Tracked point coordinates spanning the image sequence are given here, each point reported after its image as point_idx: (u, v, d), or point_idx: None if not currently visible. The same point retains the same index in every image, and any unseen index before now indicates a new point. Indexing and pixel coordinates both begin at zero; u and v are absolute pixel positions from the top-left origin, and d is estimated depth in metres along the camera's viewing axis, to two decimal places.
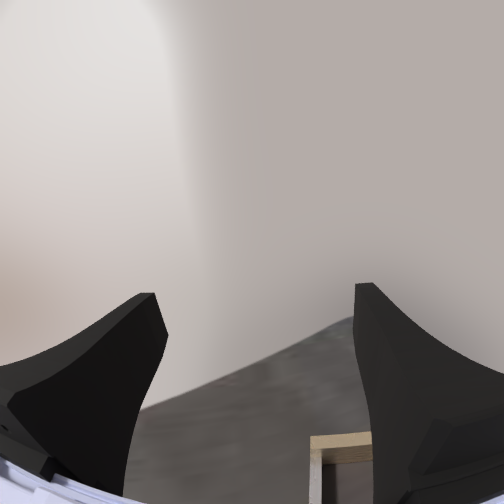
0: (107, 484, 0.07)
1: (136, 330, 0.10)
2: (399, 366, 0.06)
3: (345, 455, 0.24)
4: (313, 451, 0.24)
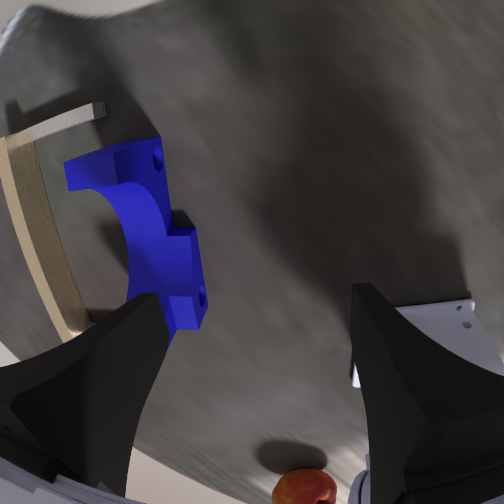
0: (109, 485, 0.07)
1: (138, 330, 0.10)
2: (395, 367, 0.06)
3: (74, 311, 0.23)
4: None
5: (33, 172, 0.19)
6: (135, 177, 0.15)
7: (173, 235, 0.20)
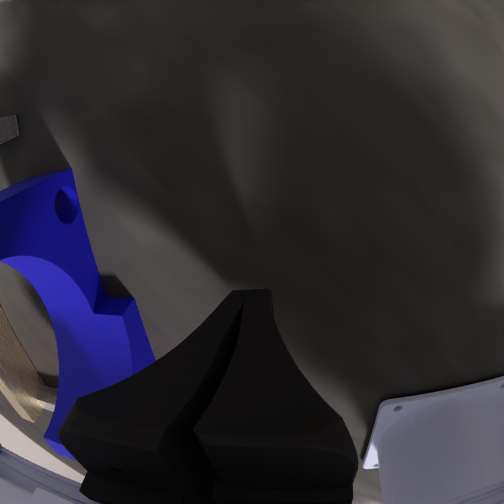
0: None
1: None
2: (225, 375, 0.06)
3: (21, 377, 0.16)
4: (35, 416, 0.17)
5: None
6: (16, 247, 0.08)
7: (101, 312, 0.13)
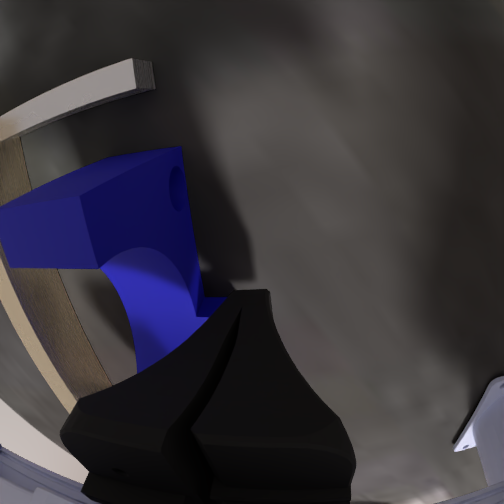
0: None
1: None
2: (223, 375, 0.06)
3: None
4: None
5: (18, 189, 0.11)
6: (138, 235, 0.08)
7: (206, 315, 0.12)
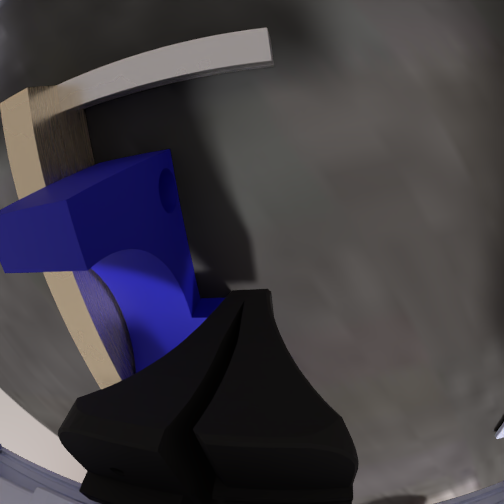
0: None
1: None
2: (225, 375, 0.06)
3: None
4: None
5: None
6: (127, 237, 0.08)
7: (202, 315, 0.12)
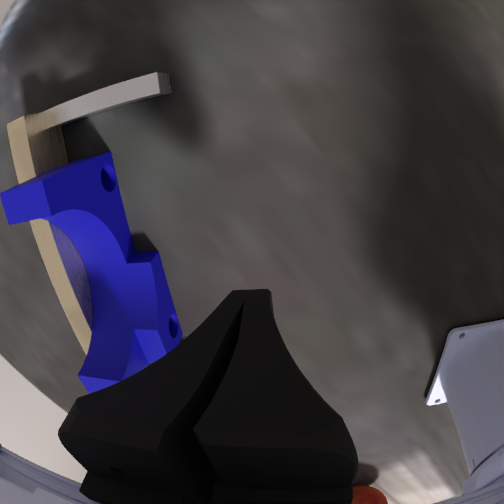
0: None
1: None
2: (225, 375, 0.06)
3: None
4: None
5: (60, 165, 0.15)
6: (76, 203, 0.13)
7: (133, 262, 0.17)
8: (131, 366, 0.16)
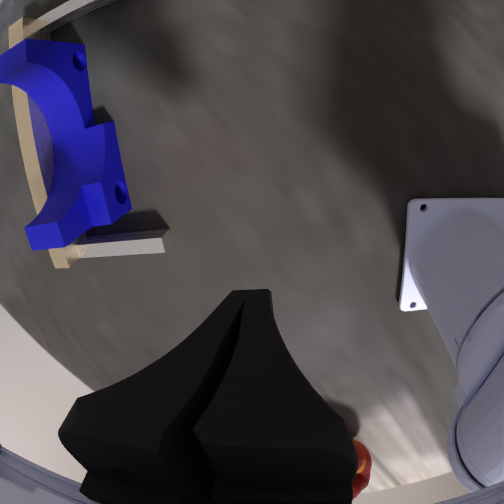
0: None
1: None
2: (225, 375, 0.06)
3: None
4: (71, 261, 0.20)
5: None
6: (48, 64, 0.13)
7: (90, 127, 0.17)
8: (72, 216, 0.16)
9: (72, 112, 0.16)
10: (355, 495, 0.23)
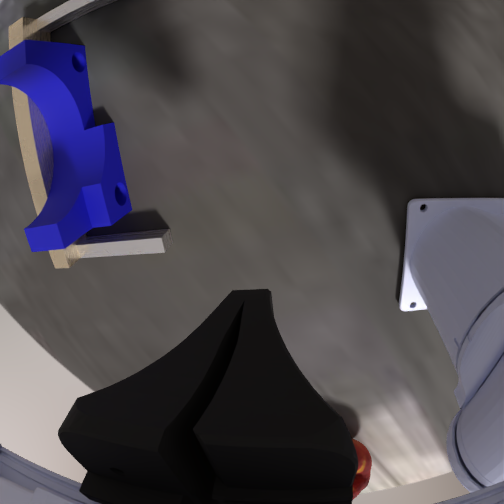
0: None
1: None
2: (225, 375, 0.06)
3: None
4: (71, 261, 0.20)
5: None
6: (48, 65, 0.13)
7: (89, 128, 0.17)
8: (72, 218, 0.16)
9: (72, 113, 0.16)
10: (355, 495, 0.23)
